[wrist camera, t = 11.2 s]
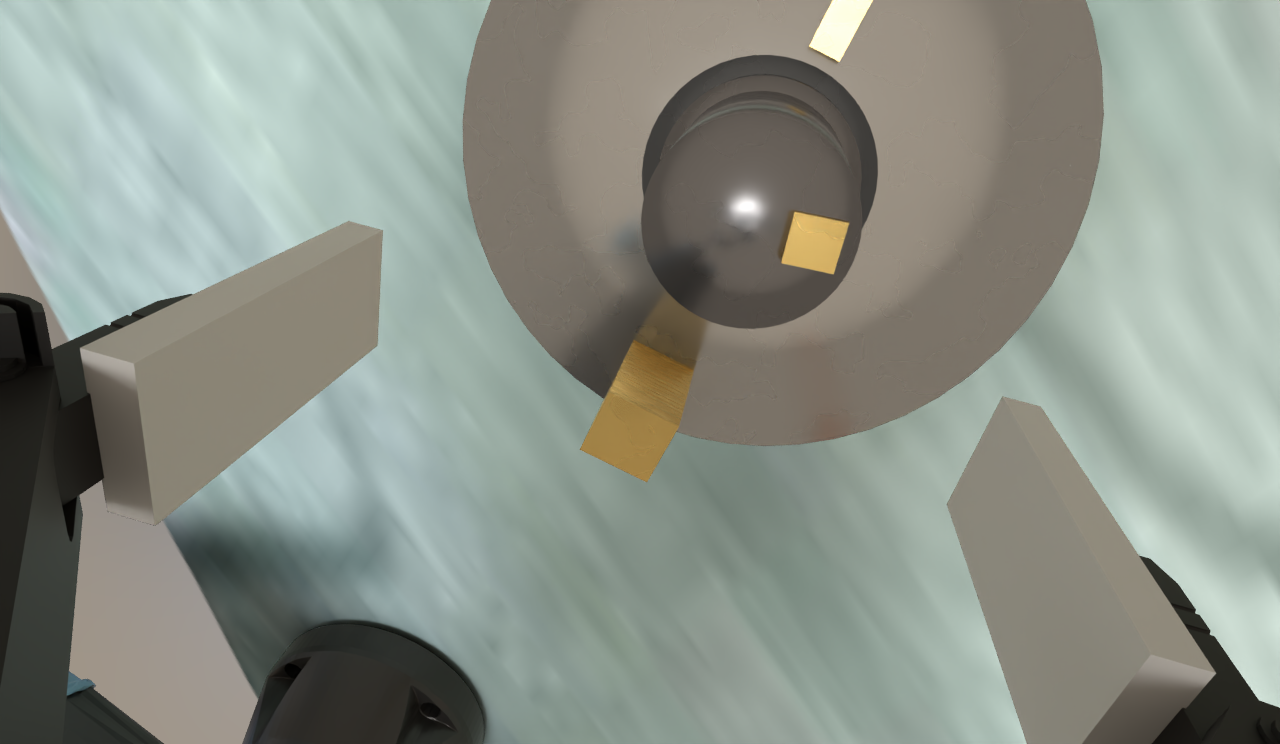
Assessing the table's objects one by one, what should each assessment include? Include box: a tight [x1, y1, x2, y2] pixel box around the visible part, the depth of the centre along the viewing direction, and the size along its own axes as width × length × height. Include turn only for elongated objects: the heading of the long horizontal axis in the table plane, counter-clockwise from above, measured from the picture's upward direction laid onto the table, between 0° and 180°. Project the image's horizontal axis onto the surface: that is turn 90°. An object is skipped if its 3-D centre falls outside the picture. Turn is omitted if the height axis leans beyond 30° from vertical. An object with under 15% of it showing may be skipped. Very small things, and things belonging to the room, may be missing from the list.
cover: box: [641, 74, 862, 329], centre depth 25 cm, size 8×8×7 cm
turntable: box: [463, 0, 1104, 482], centre depth 27 cm, size 24×24×6 cm
